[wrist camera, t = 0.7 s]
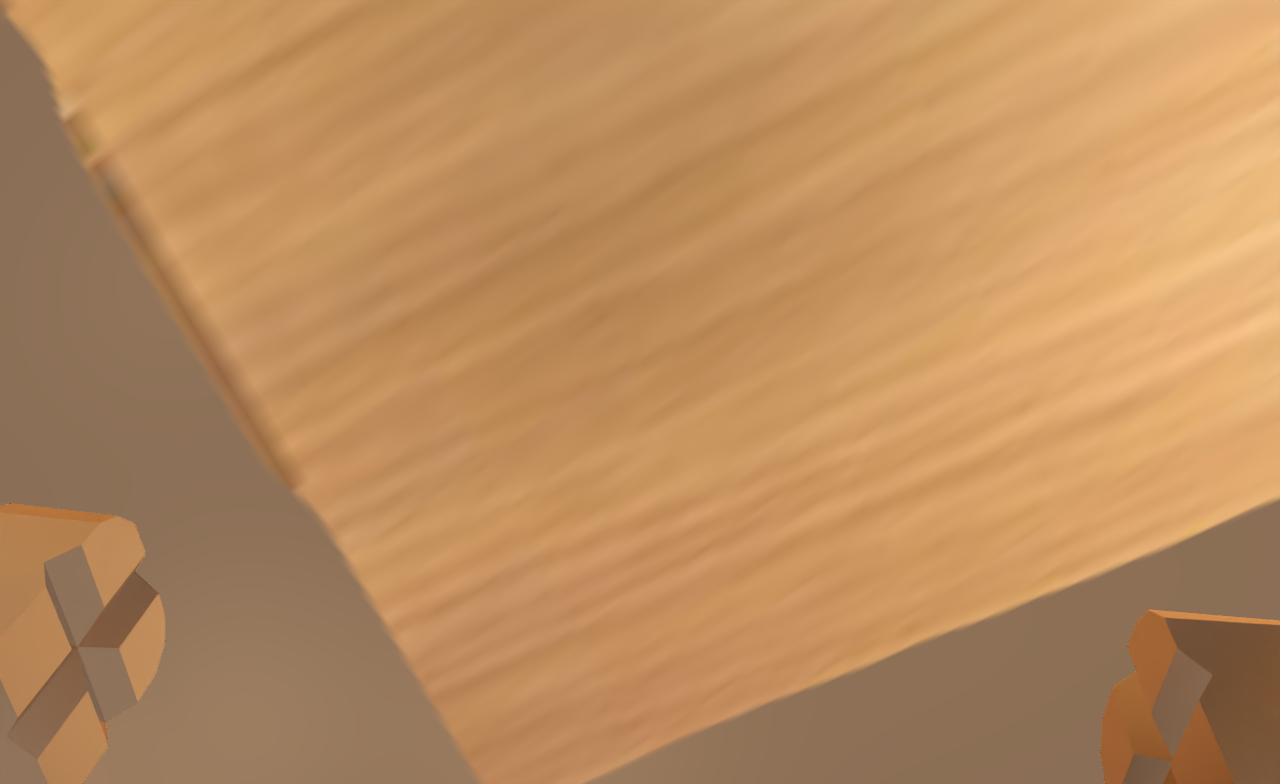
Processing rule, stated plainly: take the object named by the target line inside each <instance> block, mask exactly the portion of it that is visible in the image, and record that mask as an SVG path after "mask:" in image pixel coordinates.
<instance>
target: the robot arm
mask: <svg viewBox="0 0 1280 784" xmlns="http://www.w3.org/2000/svg"><path fill="white" fill-rule="evenodd" d="M145 554H146V552H145V549H144V547H143V544H142V541H141V539H140V536H139V534H138V531H137V528H136V525H135V523H133V522H131V521H129V520H126V519H124V518H121V517H119V516H115V515H106V514H98V513H88V512H80V511H72V510H63V509H55V508H46V507H37V506H29V505H20V504H11V503H9V504H7V505H6V504H0V784H83V783H84V782H85V780H86V779H87V778H88V776H89V775H90V773H91V772H92V770H93V769H94V767H95V766H96V764H97V763H98V761H99V760H100V758H101V757H102V755H103V754H104V752H105V751H106V749H107V748H108V746H109V745H108V737H107V728H106V722H107V721H109V720H110V719H112V718H113V717H115V716H117V715H118V714H120V713H121V712H123V711H125V710H126V709H128V708H130V707H131V706H133V705H135V704H136V703H138V702H139V700H140V698H141V697H142V695H143V694H144V692H145V691H146V689H147V687H148V686H149V684H150V683H151V681H152V680H153V678H154V676H155V675H156V672H157V668H158V665H159V662H160V658H161V655H162V651H163V648H164V645H165V641H166V637H165V635H166V634H165V613H164V609H163V606H162V603H161V599H160V596H159V593H158V592H157V591H156V590H155V589H154V588H153V587H152V586H150V585H149V584H148V583H147V582H146V581H145V580H144V579H143V578H142V577H141V576H140V575H138V574H137V573H136V572H135V571H136V569H137V568H138V566H139V564H140V563H141V561H142V559H143V558H144V556H145ZM1127 647H1128V650H1129V653H1130V656H1131V658H1132V661H1133V664H1134V667H1135V670H1136V672H1134V673H1133V674H1131V675H1130V676H1128V677H1127V678H1125V679H1124V680H1122V681H1120V682H1119V683H1118V684H1116V685H1114V686H1113V687H1112V689H1111V693H1110V696H1109V699H1108V702H1107V705H1106V708H1105V711H1104V715H1103V718H1102V719H1103V720H1102V735H1101V759H1102V766H1103V774H1104V780H1105V784H1280V621H1277V620H1265V619H1253V618H1242V617H1241V618H1240V617H1230V616H1217V615H1205V614H1194V613H1182V612H1170V611H1157V610H1147V611H1146V612H1145V614H1144V615H1143V616H1142V617H1141V618H1140V619H1139V620H1138V621H1137V622H1136V625H1135V627H1134V630H1133V632H1132V635H1131V638H1130V640H1129V643H1128V645H1127Z"/></svg>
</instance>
